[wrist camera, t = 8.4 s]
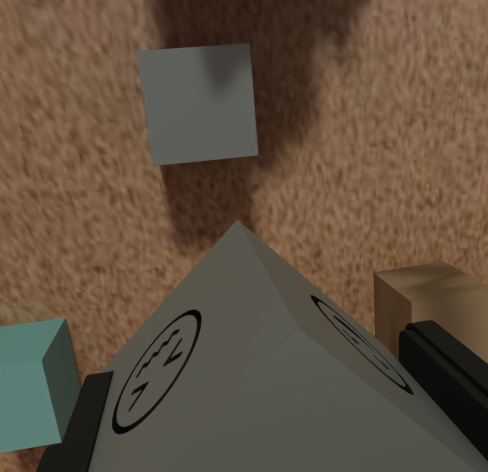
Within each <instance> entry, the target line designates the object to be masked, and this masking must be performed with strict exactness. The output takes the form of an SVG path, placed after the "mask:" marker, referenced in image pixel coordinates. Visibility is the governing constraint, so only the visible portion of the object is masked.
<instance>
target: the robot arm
mask: <svg viewBox="0 0 488 472" xmlns="http://www.w3.org/2000/svg"><path fill="white" fill-rule="evenodd" d="M399 363H400V364H401V365H402V366H403V367H404V368H405V369H406V371H407V372H408V373H409V374H410V375H411V376H412V377H413V378H414V379H415V381H416V382H417V383H418V384H419V385H420V386H421V387H422V388H423V390H424V391H425V392H426V393H427V394H428V395H429V396H430V397H431V398H432V400H433V401H434V402H435V403H436V404H437V405H438V406H439V407H440V409H441V410H442V411H443V412H444V413H445V414H446V415H447V416H448V418H449V419H450V420H451V421H452V422H453V423H454V424H455V425H456V426H457V428H458V429H459V430H460V431H461V432H462V433H463V434H464V435H465V437H466V438H467V439H468V440H469V441H470V442H471V443H472V444H473V445H474V447H475V448H476V449H477V450H478V451H479V452H480V453H481V454H482V456H483V457H484V458H485V459H486V460H487V461H488V364H487V363H486V362H485V361H484V360H482V359H481V358H480V357H479V356H477V355H476V354H475V353H474V352H472V351H471V350H470V349H469V348H467V347H466V346H465V345H464V344H462V343H461V342H460V341H459V340H457V339H456V338H455V337H454V336H452V335H451V334H450V333H449V332H447V331H446V330H445V329H444V328H442V327H441V326H440V325H439V324H437V323H436V322H435V321H433V320H426V321H420V322H414V323H408V324H407V325H406V327H405V330H403V331H401V332H400V333H399ZM113 372H114V371H109V372H103V373H97V374H91V375H87V376H86V378H85V381H84V384H83V387H82V389H81V392H80V395H79V398H78V401H77V403H76V406H75V409H74V412H73V415H72V417H71V420H70V423H69V426H68V429H67V431H66V434H65V437H64V440H63V443H62V444H57V445H52V446H49V447H48V448H46V450H45V452H44V454H43V456H42V458H41V461H40V463H39V466H38V468H37V471H36V472H88V470H89V466H90V462H91V458H92V454H93V450H94V446H95V443H96V439H97V435H98V431H99V427H100V423H101V419H102V415H103V411H104V407H105V403H106V399H107V396H108V392H109V388H110V384H111V380H112V376H113Z"/></svg>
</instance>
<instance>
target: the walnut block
mask: <svg viewBox="0 0 488 472" xmlns="http://www.w3.org/2000/svg"><path fill="white" fill-rule="evenodd" d="M374 304H375V338H376V339H377V340H378V341H380V342H381V343H382V344H383V345H384V346H385V347H386V348H387V349H388V350H389V351H390V352H391V353H392V354H393V355H394V356H395V358H396V359H397V360H398V361H399V333H400V332H401V331H403V330H405V327H406V325H407V324H408V323H414V322H420V321H426V320H433V321H435V322H436V323H437V324H439V325H440V326H441V327H442V328H444V329H445V330H446V331H447V332H449V333H450V334H451V335H452V336H454V337H455V338H456V339H457V340H459V341H460V342H461V343H462V344H464V345H465V346H466V347H467V348H469V349H470V350H471V351H472V352H474V353H475V354H476V355H477V356H479V357H480V358H481V359H482V360H484V361H485V362H486V363H487V364H488V285H486V284H485V283H483V282H481V281H479V280H477V279H475V278H473V277H471V276H469V275H468V274H466V273H464V272H462V271H460V270H458V269H456V268H454V267H453V266H451V265H449V264H447V263H445V262H438V263H431V264H425V265H419V266H412V267H406V268H400V269H394V270H387V271H381V272H375V273H374Z"/></svg>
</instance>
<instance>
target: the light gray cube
mask: <svg viewBox="0 0 488 472" xmlns="http://www.w3.org/2000/svg"><path fill="white" fill-rule="evenodd" d="M137 56H138V63H139V70H140V77H141V84H142V91H143V98H144V105H145V112H146V119H147V126H148V133H149V140H150V147H151V154H152V161H153V166H159V165H169V164H178V163H188V162H198V161H208V160H217V159H227V158H237V157H247V156H257V155H258V145H257V132H256V119H255V106H254V93H253V80H252V67H251V54H250V43H243V44H229V45H215V46H200V47H186V48H172V49H158V50H144V51H137Z"/></svg>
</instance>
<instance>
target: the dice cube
mask: <svg viewBox="0 0 488 472" xmlns="http://www.w3.org/2000/svg"><path fill="white" fill-rule="evenodd" d="M109 371H114V372H113V376H112V380H111V384H110V388H109V392H108V396H107V399H106V403H105V407H104V411H103V415H102V419H101V423H100V427H99V431H98V435H97V439H96V443H95V446H94V450H93V454H92V458H91V462H90V466H89V470H88V472H488V461H487V460H486V459H485V458H484V457H483V456H482V454H481V453H480V452H479V451H478V450H477V449H476V448H475V447H474V445H473V444H472V443H471V442H470V441H469V440H468V439H467V438H466V437H465V435H464V434H463V433H462V432H461V431H460V430H459V429H458V428H457V426H456V425H455V424H454V423H453V422H452V421H451V420H450V419H449V418H448V416H447V415H446V414H445V413H444V412H443V411H442V410H441V409H440V407H439V406H438V405H437V404H436V403H435V402H434V401H433V400H432V398H431V397H430V396H429V395H428V394H427V393H426V392H425V391H424V390H423V388H422V387H421V386H420V385H419V384H418V383H417V382H416V381H415V379H414V378H413V377H412V376H411V375H410V374H409V373H408V372H407V371H406V369H405V368H404V367H403V366H402V365H401V364H400V363H399V361H398V360H397V359H396V358H395V356H394V355H393V354H392V353H391V352H390V351H389V350H388V349H387V348H386V347H385V346H384V345H383V344H382V343H381V342H380V341H378V340H377V339H376V338H375V337H374V336H373V335H371V334H370V333H369V332H368V331H367V330H366V329H364V328H363V327H362V326H361V325H360V324H359V323H358V322H356V321H355V320H354V319H353V318H352V317H351V316H349V315H348V314H347V313H346V312H345V311H344V310H342V309H341V308H340V307H339V306H338V305H337V304H335V303H334V302H333V301H332V300H331V299H330V298H328V297H327V296H326V295H325V294H324V293H323V292H321V291H320V290H319V289H318V288H317V287H316V286H314V285H313V284H312V283H311V282H310V281H309V280H307V279H306V278H305V277H304V276H303V275H302V274H300V273H299V272H298V271H297V270H296V269H295V268H293V267H292V266H291V265H290V264H289V263H288V262H286V261H285V260H284V259H283V258H282V257H281V256H279V255H278V254H277V253H276V252H275V251H274V250H272V249H271V248H270V247H269V246H268V245H267V244H265V243H264V242H263V241H262V240H261V239H260V238H258V237H257V236H256V235H255V234H254V233H253V232H251V231H250V230H249V229H248V228H247V227H246V226H244V225H243V224H242V223H241V222H240V221H239V220H236V221H235V222H234V224H233V225H232V226H231V227H230V228H229V229H228V230H227V231H226V233H225V234H224V235H223V236H222V237H221V238H220V239H219V240H218V241H217V243H216V244H215V245H214V246H213V247H212V248H211V249H210V250H209V251H208V253H207V254H206V255H205V256H204V257H203V258H202V259H201V260H200V262H199V263H198V264H197V265H196V266H195V267H194V268H193V269H192V270H191V272H190V273H189V274H188V275H187V276H186V277H185V278H184V279H183V280H182V282H181V283H180V284H179V285H178V286H177V287H176V288H175V289H174V291H173V292H172V293H171V294H170V295H169V296H168V297H167V298H166V299H165V301H164V302H163V303H162V304H161V305H160V306H159V307H158V308H157V310H156V311H155V312H154V313H153V314H152V315H151V316H150V317H149V318H148V320H147V321H146V322H145V323H144V324H143V325H142V326H141V327H140V328H139V330H138V331H137V332H136V333H135V334H134V335H133V336H132V337H131V339H130V340H129V341H128V342H127V343H126V344H125V345H124V346H123V347H122V349H121V350H120V351H119V352H118V353H117V354H116V355H115V356H114V358H113V359H112V360H111V361H110V362H109V363H108V364H107V365H106V366H105V368H104V369H103V370H102V371H101V372H100V373H103V372H109Z"/></svg>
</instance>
